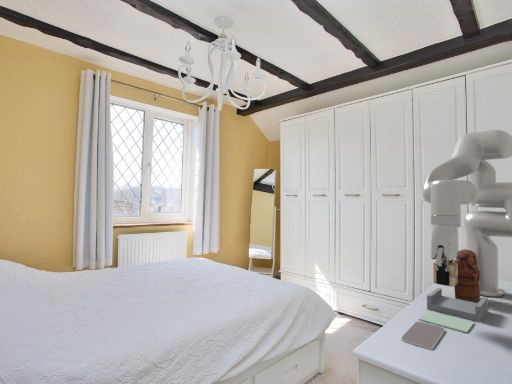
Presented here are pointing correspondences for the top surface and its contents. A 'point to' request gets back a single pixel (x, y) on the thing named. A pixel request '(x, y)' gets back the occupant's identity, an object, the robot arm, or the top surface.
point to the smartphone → (423, 335)
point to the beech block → (452, 273)
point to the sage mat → (447, 321)
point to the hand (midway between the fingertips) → (445, 282)
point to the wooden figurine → (467, 276)
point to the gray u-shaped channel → (457, 306)
